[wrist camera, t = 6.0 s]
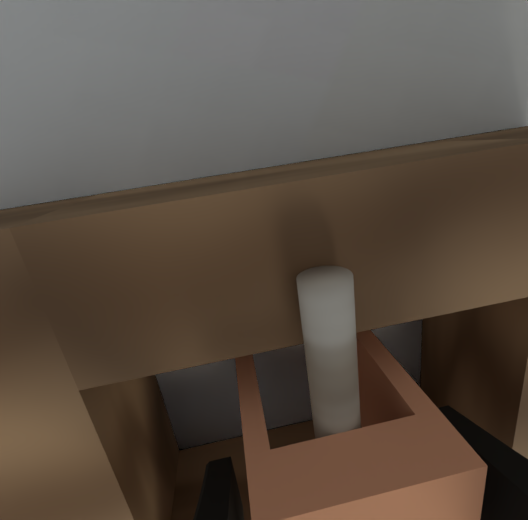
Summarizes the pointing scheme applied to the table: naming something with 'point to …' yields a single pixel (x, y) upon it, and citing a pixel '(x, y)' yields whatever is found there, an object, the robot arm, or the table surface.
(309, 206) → the wooden frame tray
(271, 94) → the table surface
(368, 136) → the table surface
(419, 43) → the table surface
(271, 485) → the u clip
